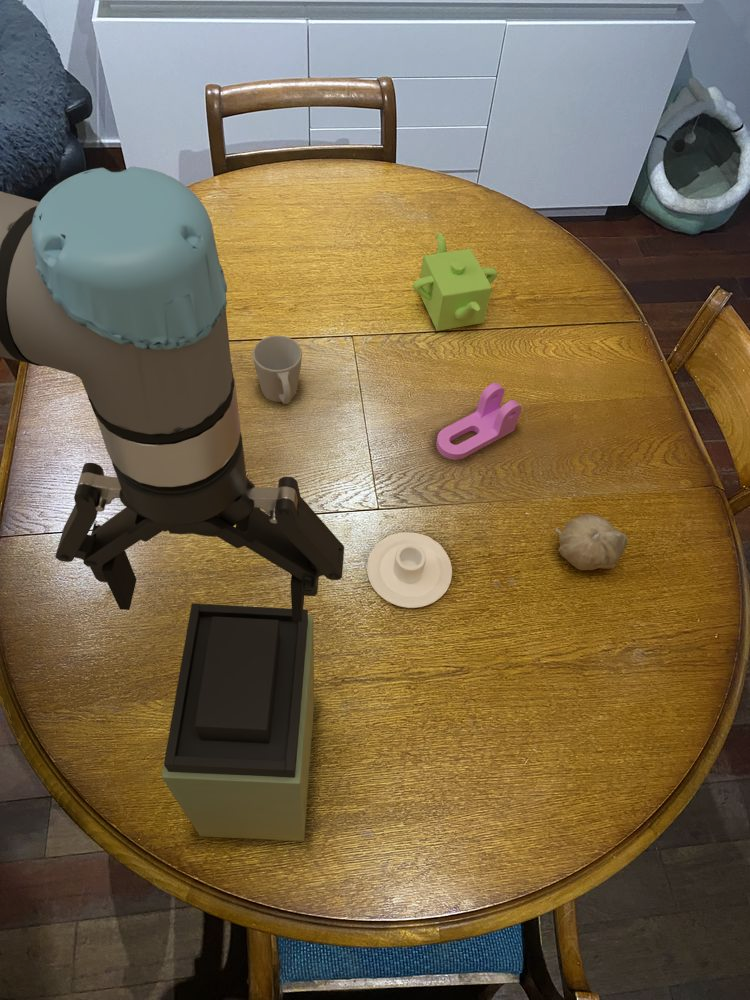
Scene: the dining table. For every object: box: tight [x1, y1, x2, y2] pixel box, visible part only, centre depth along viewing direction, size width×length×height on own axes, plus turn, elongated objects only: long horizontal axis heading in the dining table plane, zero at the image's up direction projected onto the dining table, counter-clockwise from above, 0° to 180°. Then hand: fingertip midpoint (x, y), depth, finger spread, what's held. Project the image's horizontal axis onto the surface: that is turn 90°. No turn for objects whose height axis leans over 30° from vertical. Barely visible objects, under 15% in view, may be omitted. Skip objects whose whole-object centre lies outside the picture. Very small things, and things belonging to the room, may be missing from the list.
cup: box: [252, 335, 303, 405], centre depth 124 cm, size 8×10×8 cm
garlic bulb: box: [554, 513, 629, 571], centre depth 110 cm, size 9×8×10 cm
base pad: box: [163, 602, 309, 778], centre depth 71 cm, size 11×15×2 cm
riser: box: [161, 615, 315, 842], centre depth 84 cm, size 12×16×27 cm
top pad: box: [195, 616, 280, 744], centre depth 70 cm, size 10×6×4 cm, turn 178°
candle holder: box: [366, 531, 453, 609], centre depth 109 cm, size 12×12×4 cm
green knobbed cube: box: [412, 232, 499, 332], centre depth 136 cm, size 15×13×11 cm
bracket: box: [435, 382, 523, 461], centre depth 122 cm, size 13×6×7 cm, turn 124°
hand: (213, 600), depth 63 cm, fingers open, 13 cm apart
